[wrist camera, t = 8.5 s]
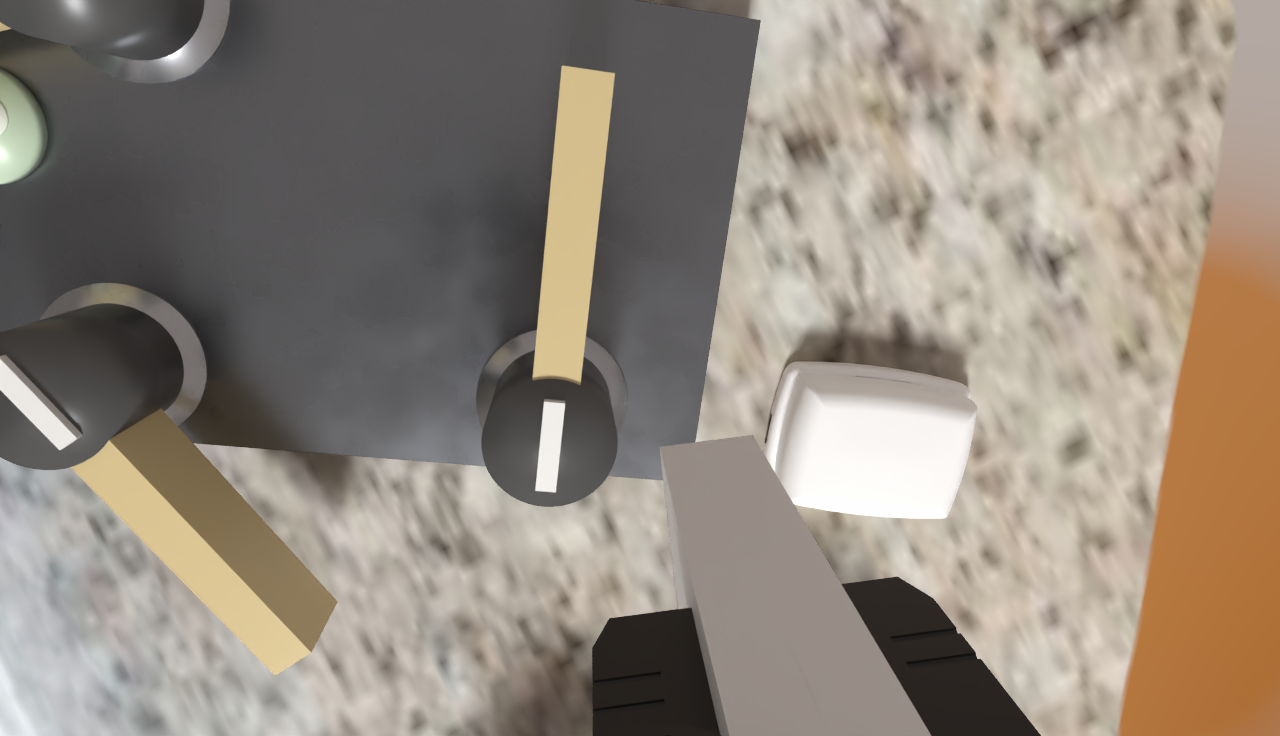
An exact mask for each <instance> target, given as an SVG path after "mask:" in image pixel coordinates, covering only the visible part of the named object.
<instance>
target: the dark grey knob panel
mask: <svg viewBox="0 0 1280 736" xmlns="http://www.w3.org/2000/svg"><path fill="white" fill-rule="evenodd" d="M760 21H761V20H755V19H749V18H743V17H737V16H731V15H724V14H718V13H712V12H706V11H699V10H693V9H687V8H681V7H674V6H668V5H662V4H656V3H649V2H643V1H637V0H205V1H204V10H203V15H202V19H201V21H200V24H199V27H198V28H197V30H196V32H195V34H194V35H193V37H192V38H191V39H190V40H189V42H188V43H186V44H185V45H184V46H183V47H182V48H181V49H179V50H178V51H176V52H175V53H173V54H171V55H169V56H166V57H163V58H160V59H155V60H143V61H139V60H131V59H126V58H122V57H117V56H113V55H109V54H104V53H100V52H96V51H92V50H87V49H83V48H79V47H74V46H70V45H66V44H62V43H57V42H53V41H49V40H44V39H40V38H36V37H32V36H28V35H26V34H23V33H20V32H18V31H15V30H13V29H8V30H4V31H0V68H1V69H3V70H5V71H7V72H8V73H10V74H12V75H13V76H14V77H16V78H17V79H18V80H20V81H21V82H22V83H23V84H24V85H25V86H26V87H27V88H28V89H29V91H30V92H31V93H32V94H33V96H34V97H35V98H36V100H37V102H38V103H39V105H40V107H41V109H42V112H43V114H44V117H45V120H46V124H47V131H48V141H47V148H46V151H45V155H44V157H43V159H42V161H41V162H40V164H39V165H38V167H37V168H36V169H35V170H34V171H33V172H32V173H31V174H29V175H28V176H27V177H25V178H23V179H21V180H19V181H16V182H13V183H9V184H2V185H0V332H3V331H6V330H9V329H13V328H16V327H19V326H23V325H26V324H29V323H33V322H36V321H39V320H42V319H46V318H49V317H52V316H56V315H59V314H62V313H66V312H69V311H72V310H76V309H79V308H82V307H85V306H89V305H93V304H100V303H113V304H121V305H125V306H129V307H132V308H135V309H138V310H140V311H142V312H144V313H146V314H147V315H149V316H151V317H152V318H154V319H155V320H156V321H157V322H159V323H160V324H161V325H162V326H163V327H164V328H165V329H166V330H167V331H168V332H169V334H170V335H171V336H172V337H173V339H174V341H175V342H176V344H177V346H178V348H179V351H180V353H181V356H182V360H183V366H184V379H183V384H182V388H181V391H180V393H179V395H178V397H177V398H176V400H175V401H174V403H173V404H172V405H171V406H170V407H169V408H168V409H167V410H166V411H165V413H166V414H167V415H168V416H169V418H170V419H171V420H172V421H173V422H174V423H175V424H176V425H177V426H178V427H179V428H180V430H181V431H182V432H183V433H184V434H185V435H186V436H187V437H188V438H189V439H190V441H191V442H192V443H198V444H210V445H223V446H236V447H248V448H261V449H273V450H286V451H299V452H311V453H324V454H337V455H349V456H362V457H375V458H387V459H400V460H413V461H425V462H438V463H450V464H463V465H476V466H486V465H485V463H484V459H483V456H482V449H481V438H482V431H483V428H484V424H485V421H486V418H487V414H488V411H489V408H490V405H491V402H492V398H493V395H494V392H495V389H496V385H497V383H498V381H499V378H500V377H501V375H502V374H503V372H504V371H505V369H506V368H507V367H508V366H509V365H510V364H511V363H512V362H513V361H514V360H516V359H517V358H519V357H520V356H522V355H524V354H526V353H528V352H531V351H533V350H535V346H536V336H537V325H538V314H539V303H540V293H541V282H542V271H543V261H544V250H545V239H546V229H547V218H548V207H549V197H550V186H551V175H552V165H553V154H554V143H555V132H556V122H557V111H558V100H559V90H560V79H561V68H562V66H569V67H576V68H582V69H589V70H596V71H603V72H610V73H615V78H614V87H613V96H612V105H611V114H610V123H609V132H608V141H607V150H606V159H605V168H604V177H603V186H602V195H601V204H600V213H599V222H598V231H597V240H596V249H595V258H594V267H593V276H592V285H591V294H590V303H589V312H588V321H587V330H586V339H585V348H584V357H585V358H587V359H588V360H589V361H591V362H592V363H593V364H594V365H595V366H596V367H597V368H598V369H599V371H600V372H601V373H602V375H603V377H604V379H605V380H606V383H607V386H608V389H609V393H610V398H611V403H612V409H613V414H614V419H615V425H616V430H617V437H618V449H617V455H616V459H615V462H614V465H613V467H612V469H611V471H610V473H609V475H608V476H615V477H627V478H640V479H653V480H663V474H662V465H661V456H660V447H663V446H671V445H679V444H686V443H694V442H695V440H696V434H697V427H698V421H699V414H700V408H701V401H702V395H703V388H704V382H705V376H706V369H707V363H708V356H709V350H710V343H711V337H712V330H713V324H714V318H715V311H716V305H717V298H718V292H719V285H720V279H721V272H722V266H723V260H724V253H725V247H726V240H727V234H728V227H729V221H730V214H731V208H732V202H733V195H734V189H735V182H736V176H737V169H738V163H739V156H740V150H741V144H742V137H743V131H744V124H745V118H746V111H747V105H748V98H749V92H750V86H751V79H752V73H753V66H754V60H755V53H756V47H757V40H758V34H759V28H760Z"/></svg>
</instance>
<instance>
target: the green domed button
mask: <svg viewBox="0 0 1280 736" xmlns="http://www.w3.org/2000/svg"><path fill="white" fill-rule="evenodd" d="M47 141H48V131H47V124H46V120H45V117H44V114H43V112H42V109H41V107H40V105H39V103H38V102H37V100H36V98H35V97H34V96H33V94H32V93H31V92H30V91H29V89H28V88H27V87H26V86H25V85H24V84H23V83H22V82H21V81H20V80H18V79H17V78H16V77H14V76H13V75H12V74H10V73H8V72H7V71H5V70H3V69H1V68H0V185H2V184H9V183H13V182H16V181H19V180H21V179H23V178H25V177H27V176H28V175H29V174H31V173H32V172H33V171H34V170H35V169H36V168H37V167H38V165H39V164H40V162H41V161H42V159H43V157H44V155H45V151H46V148H47Z"/></svg>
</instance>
